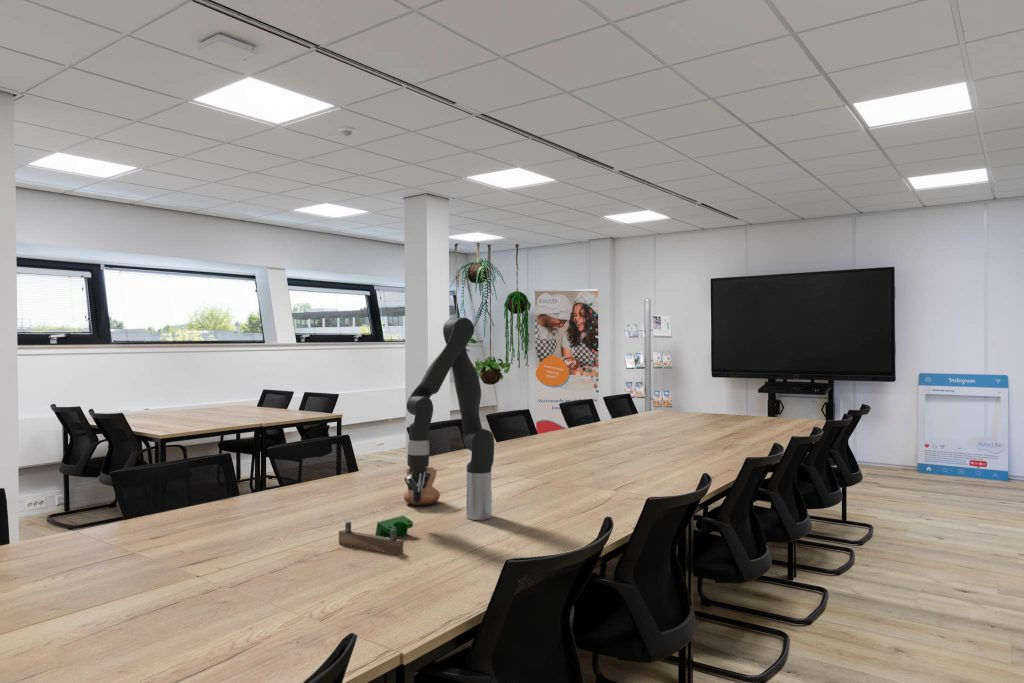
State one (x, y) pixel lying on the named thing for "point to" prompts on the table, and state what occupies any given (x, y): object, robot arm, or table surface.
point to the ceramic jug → (424, 490)
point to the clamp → (394, 526)
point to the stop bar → (371, 540)
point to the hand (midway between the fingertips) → (417, 501)
